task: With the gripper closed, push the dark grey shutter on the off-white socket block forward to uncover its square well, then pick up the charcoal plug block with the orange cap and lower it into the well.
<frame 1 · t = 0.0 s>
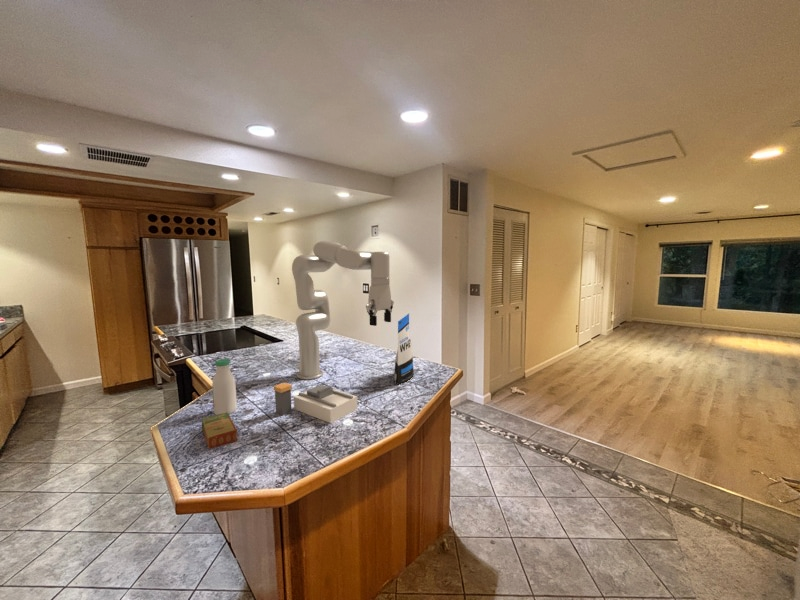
hand: (380, 323, 136), 31 cm above the table, fingers open, 9 cm apart
protein powder: (403, 377, 163), on the table
shutter: (320, 390, 128), point 7 cm above the table, slide at 0.0 cm
socket: (325, 408, 127), on the table
carton: (219, 435, 108), on the table
plug: (283, 412, 124), on the table
milk bottle: (225, 411, 125), on the table
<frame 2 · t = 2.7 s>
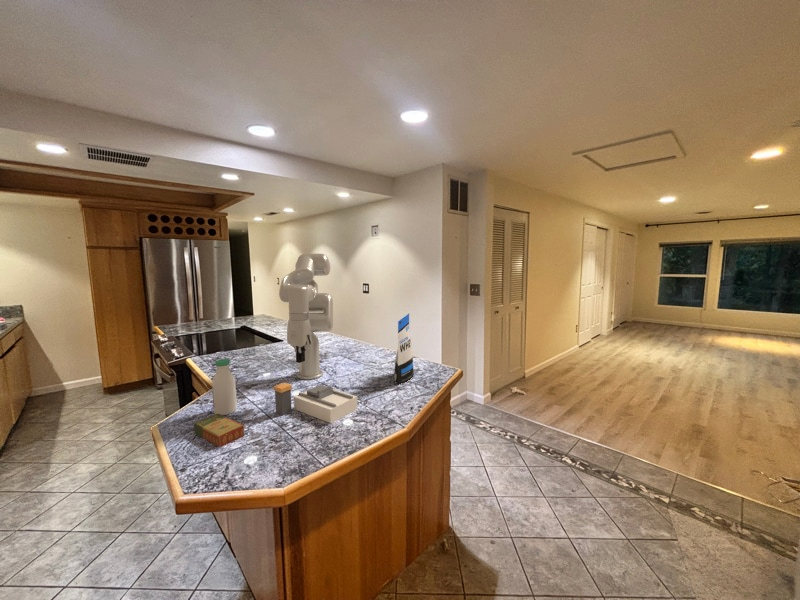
hand: (300, 361, 133), 16 cm above the table, fingers closed
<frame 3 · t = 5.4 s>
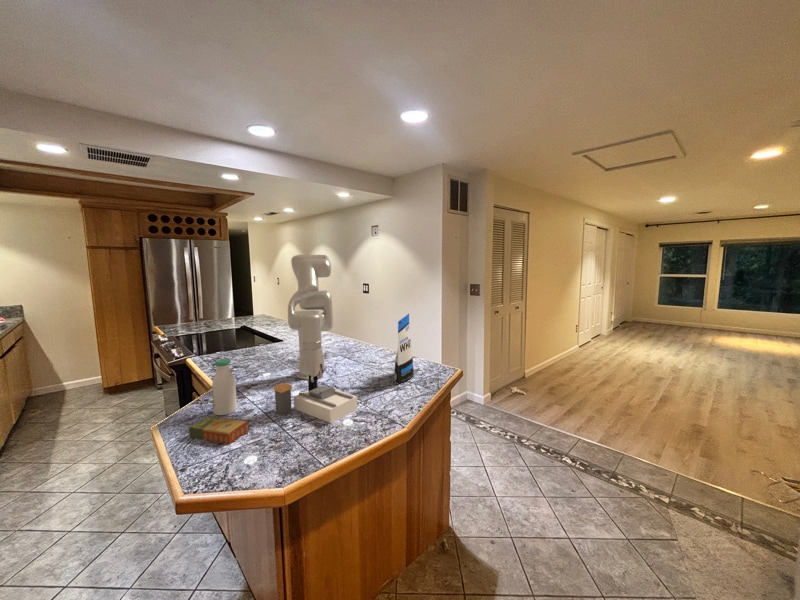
hand: (312, 390, 130), 6 cm above the table, fingers closed
shutter: (322, 391, 127), point 7 cm above the table, slide at 1.1 cm, touching gripper
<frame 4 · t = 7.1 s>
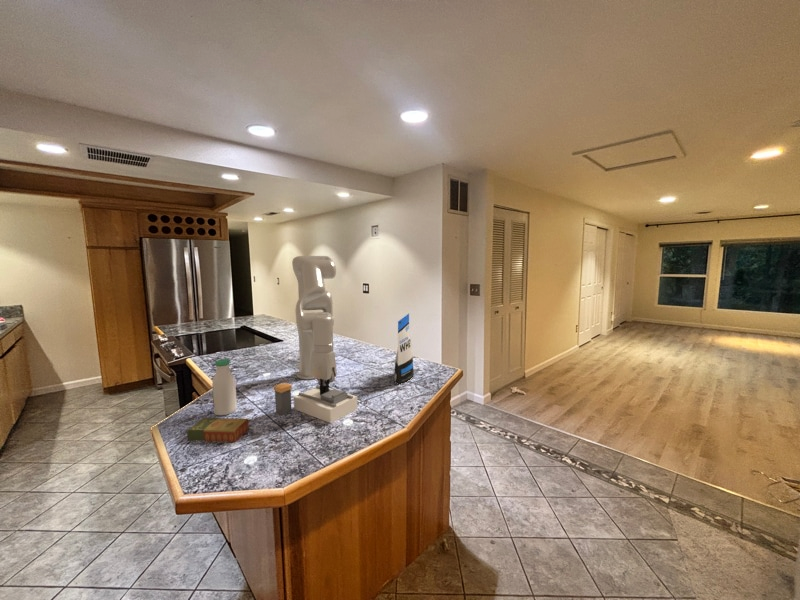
hand: (324, 394, 126), 6 cm above the table, fingers closed
shutter: (334, 395, 123), point 7 cm above the table, slide at 7.7 cm, touching gripper
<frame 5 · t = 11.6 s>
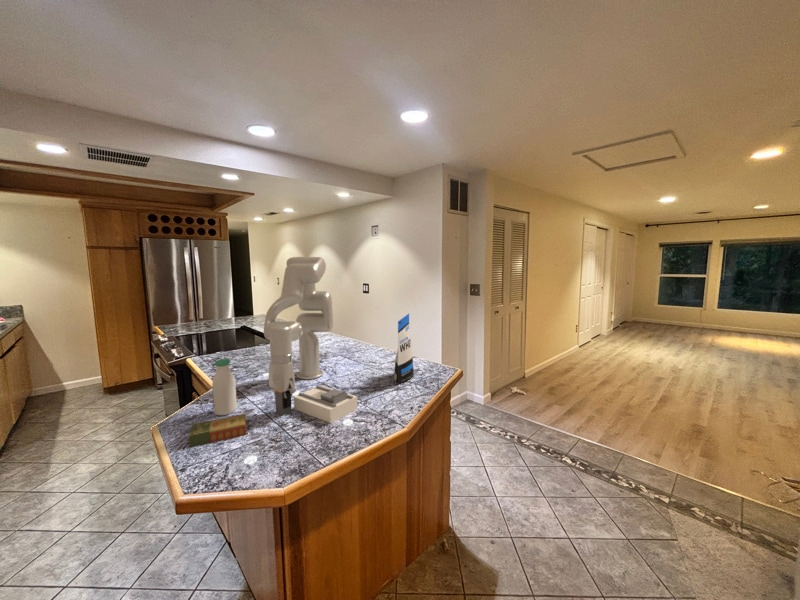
hand: (283, 405, 124), 3 cm above the table, fingers closed on plug, 4 cm apart
shutter: (334, 395, 123), point 7 cm above the table, slide at 7.7 cm
plug: (283, 412, 124), on the table, touching gripper
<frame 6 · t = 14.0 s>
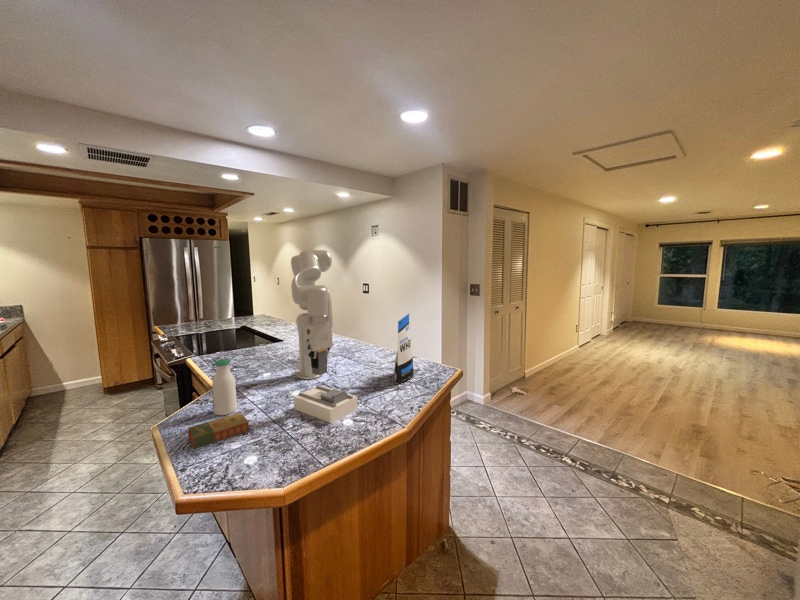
hand: (319, 365, 127), 17 cm above the table, fingers closed on plug, 4 cm apart
plug: (319, 372, 127), point 14 cm above the table, touching gripper
when the fingers open (6 cm above the table, at t = 16.7 s): plug drops 2 cm, resting on socket.
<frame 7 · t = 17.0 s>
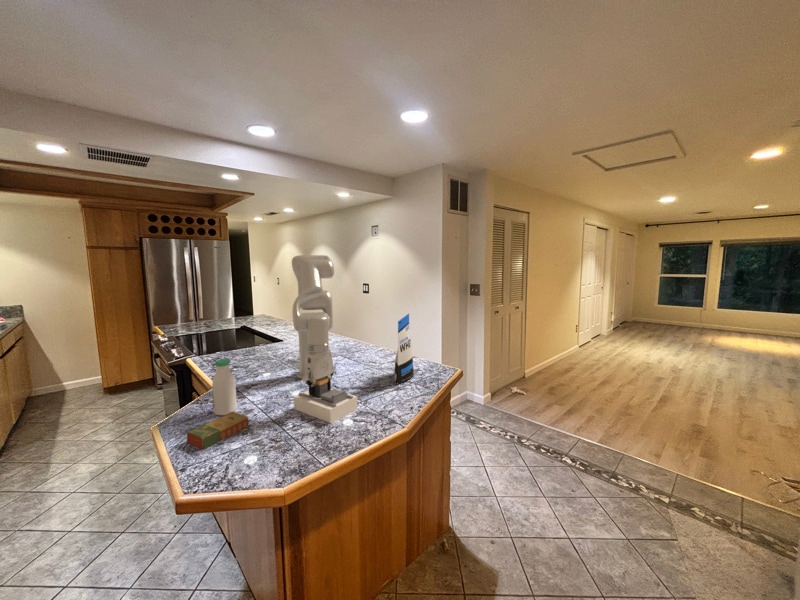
hand: (320, 391, 128), 6 cm above the table, fingers open, 7 cm apart
plug: (320, 404, 128), point 1 cm above the table, touching socket
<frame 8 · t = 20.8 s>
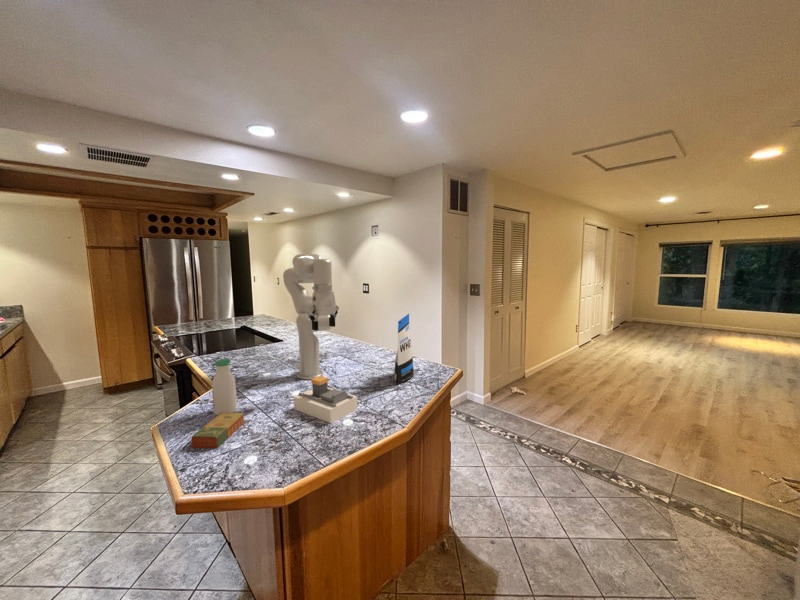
hand: (324, 328, 141), 28 cm above the table, fingers open, 9 cm apart
at the end: plug 0.0 cm from the target spot on the socket, point 1.0 cm above the socket's base; shutter slide at 7.7 cm; plug tilted 0° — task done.
